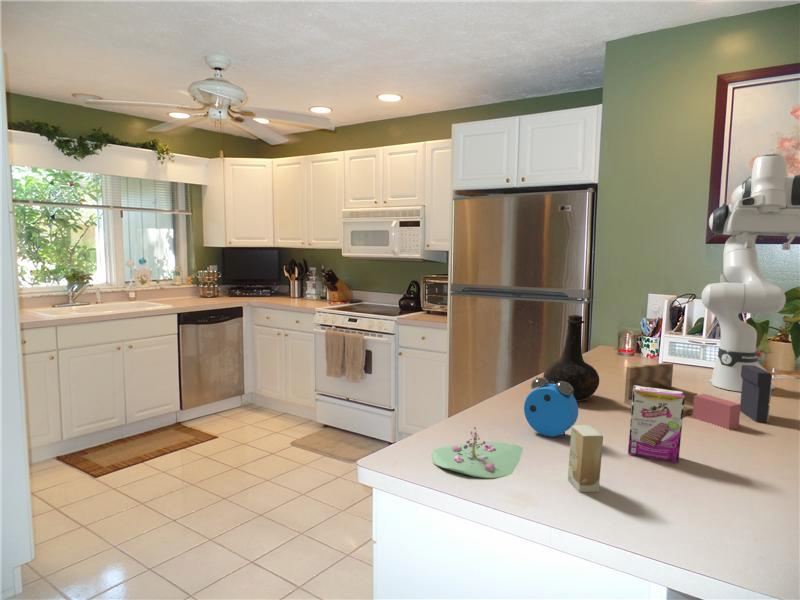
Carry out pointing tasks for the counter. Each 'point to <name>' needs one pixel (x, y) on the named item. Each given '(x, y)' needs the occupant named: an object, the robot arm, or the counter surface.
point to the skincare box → (585, 458)
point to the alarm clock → (551, 407)
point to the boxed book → (716, 411)
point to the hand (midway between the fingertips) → (767, 248)
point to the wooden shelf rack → (655, 382)
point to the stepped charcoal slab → (755, 393)
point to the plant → (479, 458)
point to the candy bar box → (656, 423)
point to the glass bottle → (574, 364)
